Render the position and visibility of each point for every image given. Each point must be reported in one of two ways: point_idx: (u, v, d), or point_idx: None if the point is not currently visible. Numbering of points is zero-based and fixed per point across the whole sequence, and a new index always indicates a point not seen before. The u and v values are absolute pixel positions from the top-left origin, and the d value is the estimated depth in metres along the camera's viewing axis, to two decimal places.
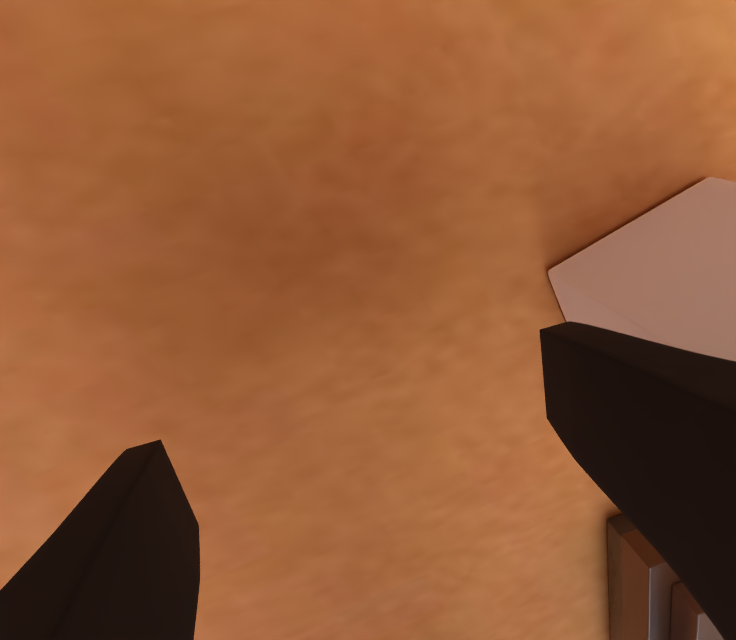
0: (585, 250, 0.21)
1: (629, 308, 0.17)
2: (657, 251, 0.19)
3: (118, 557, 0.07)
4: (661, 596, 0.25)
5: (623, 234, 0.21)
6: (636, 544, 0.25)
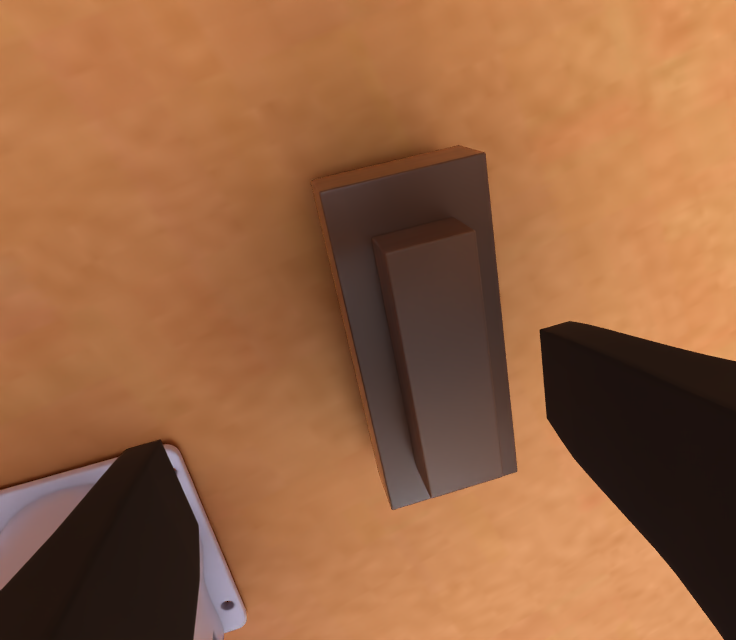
0: None
1: None
2: None
3: (118, 556, 0.07)
4: (357, 261, 0.15)
5: None
6: (322, 181, 0.16)
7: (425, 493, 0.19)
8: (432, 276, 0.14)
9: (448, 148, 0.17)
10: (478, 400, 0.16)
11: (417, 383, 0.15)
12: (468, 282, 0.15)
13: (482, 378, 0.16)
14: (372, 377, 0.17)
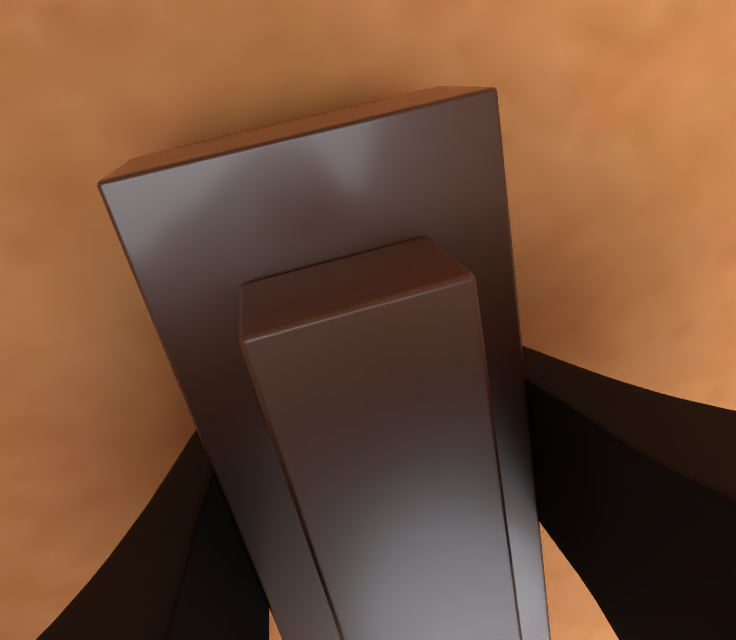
0: None
1: None
2: None
3: (212, 527, 0.07)
4: (212, 337, 0.07)
5: None
6: (139, 161, 0.07)
7: None
8: (370, 388, 0.06)
9: (418, 91, 0.08)
10: (485, 624, 0.08)
11: (349, 608, 0.07)
12: (459, 396, 0.06)
13: (493, 583, 0.07)
14: (272, 556, 0.08)
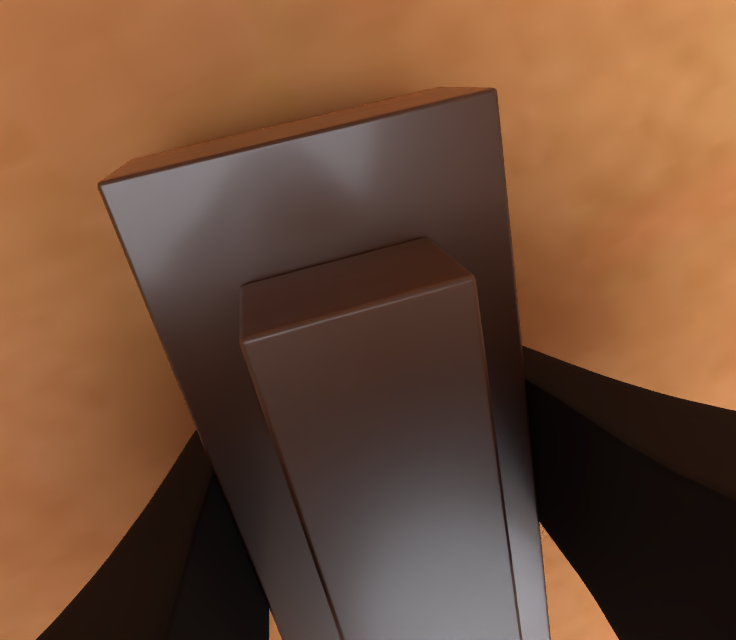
0: None
1: None
2: None
3: (213, 527, 0.07)
4: (212, 337, 0.07)
5: None
6: (139, 162, 0.07)
7: None
8: (370, 388, 0.06)
9: (418, 92, 0.08)
10: (485, 624, 0.08)
11: (349, 608, 0.07)
12: (459, 397, 0.06)
13: (493, 584, 0.07)
14: (273, 556, 0.08)
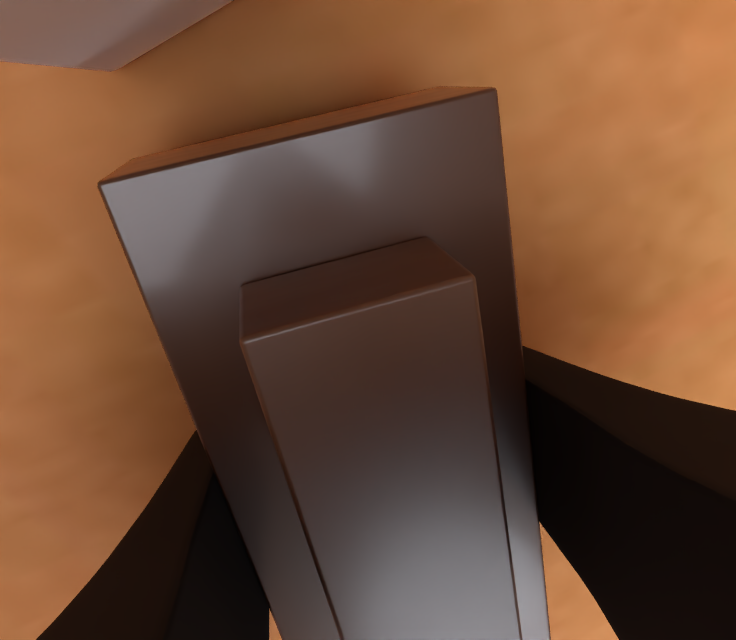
0: None
1: None
2: None
3: (213, 527, 0.07)
4: (212, 337, 0.07)
5: None
6: (139, 161, 0.07)
7: None
8: (369, 388, 0.06)
9: (418, 92, 0.08)
10: (485, 624, 0.08)
11: (349, 608, 0.07)
12: (459, 396, 0.06)
13: (493, 584, 0.07)
14: (272, 556, 0.08)
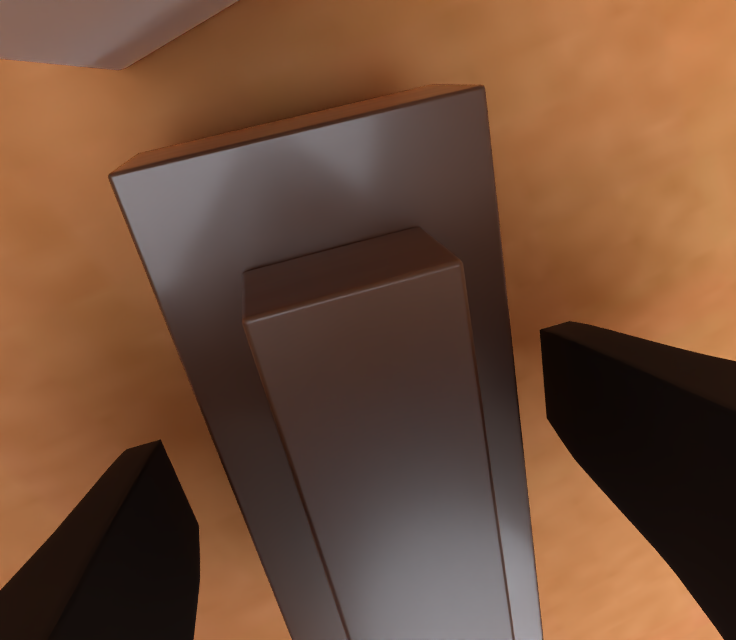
0: None
1: None
2: None
3: (118, 556, 0.07)
4: (216, 321, 0.07)
5: None
6: (146, 155, 0.08)
7: None
8: (364, 367, 0.06)
9: (412, 89, 0.08)
10: (475, 595, 0.08)
11: (345, 578, 0.07)
12: (449, 376, 0.06)
13: (482, 557, 0.08)
14: (272, 533, 0.09)
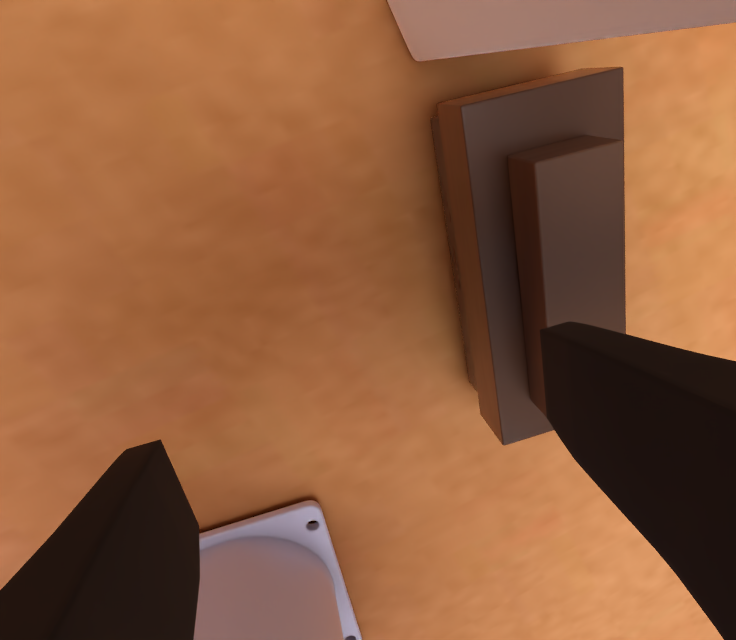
0: None
1: None
2: None
3: (118, 557, 0.07)
4: (491, 180, 0.15)
5: None
6: (453, 102, 0.15)
7: (536, 428, 0.19)
8: (578, 188, 0.14)
9: (573, 71, 0.16)
10: (609, 322, 0.16)
11: (553, 303, 0.15)
12: (611, 195, 0.14)
13: (615, 298, 0.16)
14: (496, 304, 0.17)
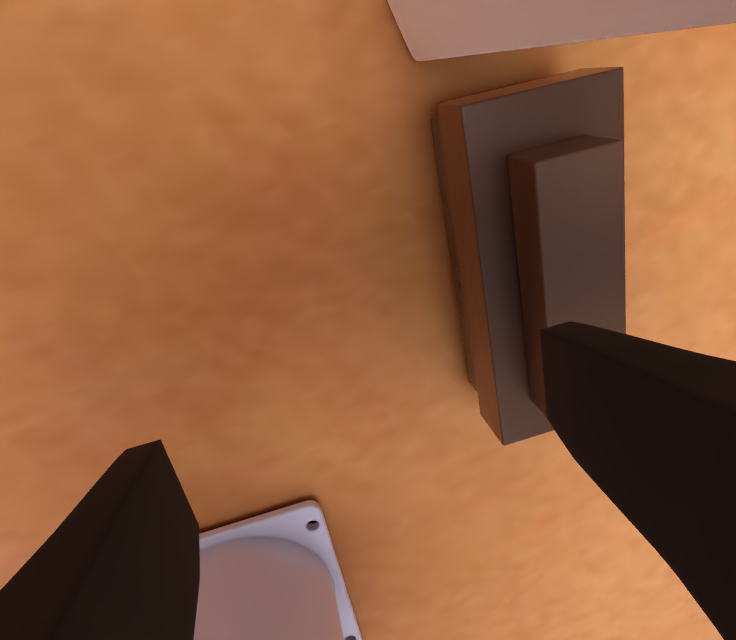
0: None
1: None
2: None
3: (118, 557, 0.07)
4: (491, 180, 0.15)
5: None
6: (453, 102, 0.15)
7: (536, 428, 0.19)
8: (578, 188, 0.14)
9: (573, 71, 0.16)
10: (609, 322, 0.16)
11: (553, 303, 0.15)
12: (611, 195, 0.14)
13: (615, 298, 0.16)
14: (496, 304, 0.17)
